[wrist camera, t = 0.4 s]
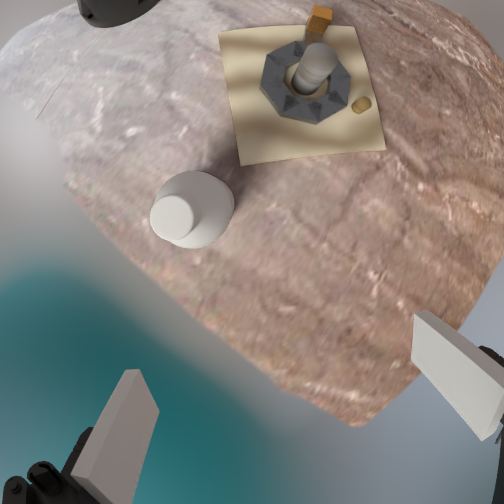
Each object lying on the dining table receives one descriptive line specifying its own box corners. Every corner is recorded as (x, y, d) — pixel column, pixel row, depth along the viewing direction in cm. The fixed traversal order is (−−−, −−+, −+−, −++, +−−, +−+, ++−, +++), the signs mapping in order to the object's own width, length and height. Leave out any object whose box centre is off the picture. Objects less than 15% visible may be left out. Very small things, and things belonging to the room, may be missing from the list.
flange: (339, 131, 34) (355, 122, 28) (254, 111, 33) (257, 97, 28) (351, 38, 31) (365, 20, 25) (274, 18, 30) (279, -4, 25)
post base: (218, 36, 32) (212, -3, 22) (351, 30, 32) (376, -3, 22) (240, 166, 36) (240, 157, 26) (382, 150, 36) (421, 141, 26)
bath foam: (205, 166, 36) (166, 138, 16) (245, 201, 37) (251, 212, 17) (170, 206, 37) (101, 224, 17) (210, 241, 38) (179, 294, 18)
